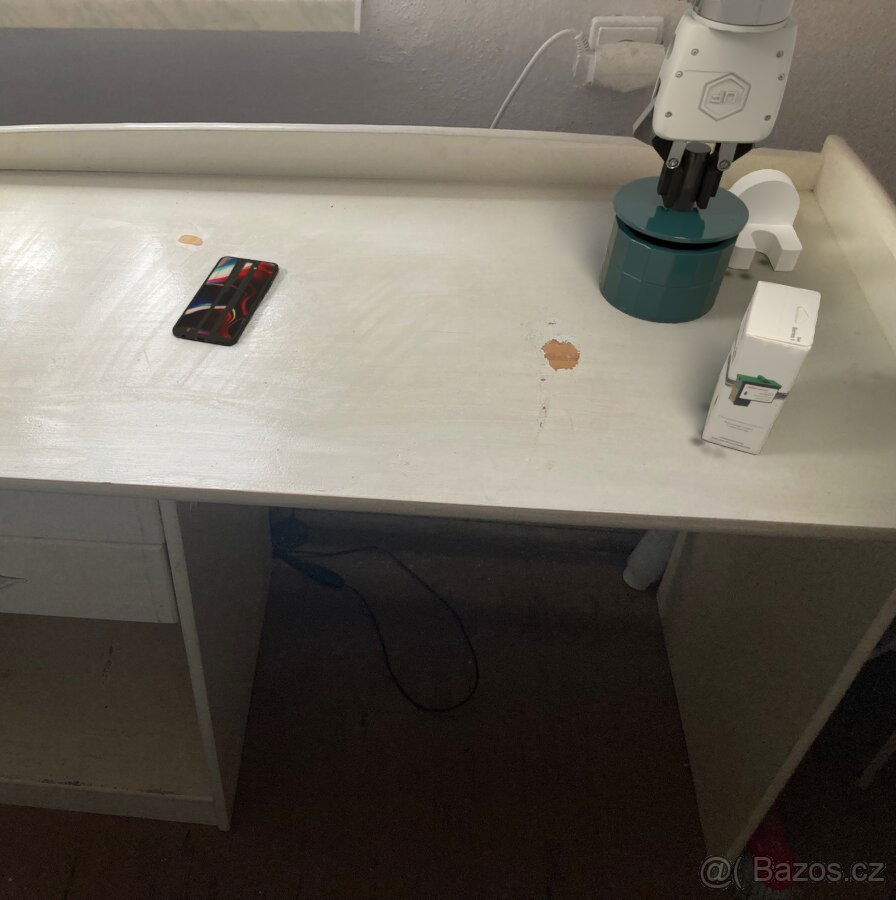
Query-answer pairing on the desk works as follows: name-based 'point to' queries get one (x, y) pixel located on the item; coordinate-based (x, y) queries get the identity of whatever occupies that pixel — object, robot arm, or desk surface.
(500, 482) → the desk surface
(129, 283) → the desk surface
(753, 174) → the slotted bracket
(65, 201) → the desk surface
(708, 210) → the lid
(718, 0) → the robot arm
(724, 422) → the ink box
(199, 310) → the smartphone
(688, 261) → the pot
